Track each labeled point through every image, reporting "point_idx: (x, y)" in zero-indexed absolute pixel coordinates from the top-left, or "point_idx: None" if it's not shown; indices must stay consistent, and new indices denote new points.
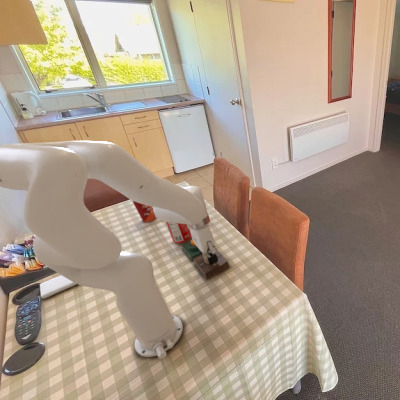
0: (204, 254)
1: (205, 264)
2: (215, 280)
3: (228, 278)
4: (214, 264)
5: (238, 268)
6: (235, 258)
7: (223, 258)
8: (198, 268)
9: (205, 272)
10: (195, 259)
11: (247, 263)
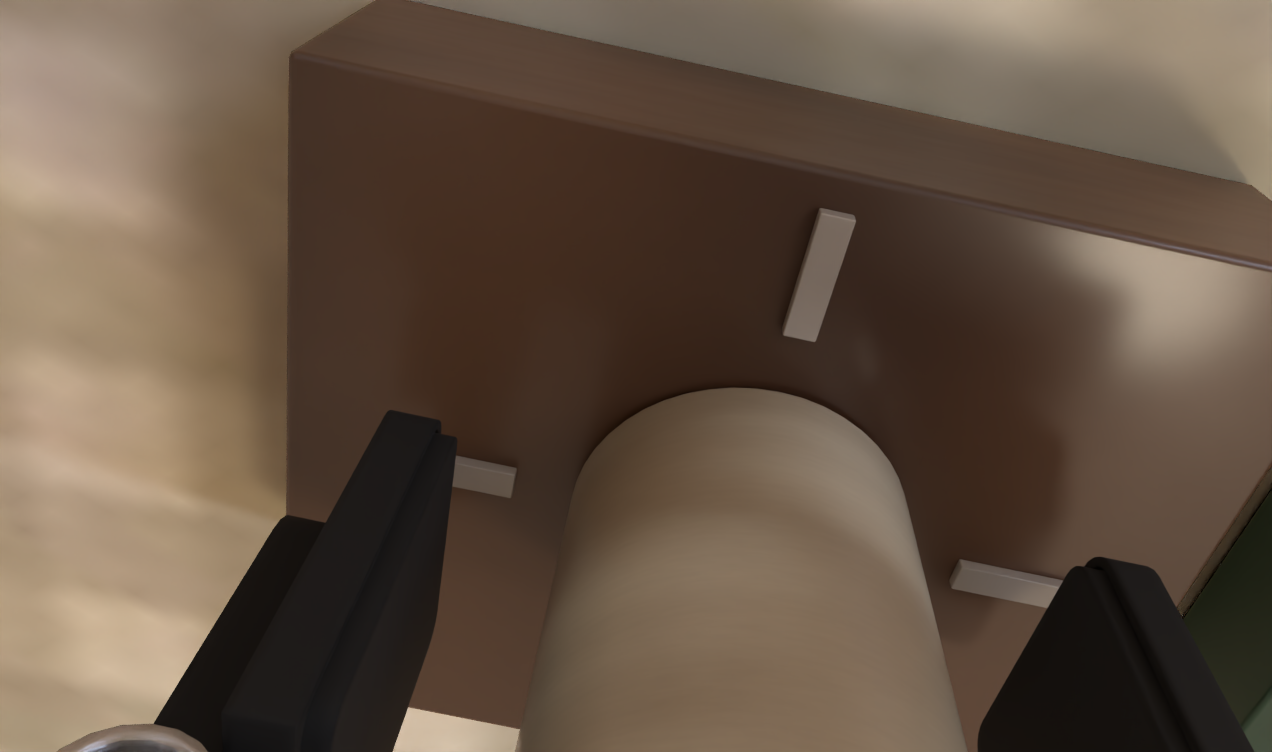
0: (638, 746)
1: (700, 342)
2: (180, 113)
3: (28, 327)
4: None
5: (173, 598)
6: (483, 730)
7: (469, 701)
8: (984, 132)
9: (341, 104)
10: (1263, 316)
11: None
